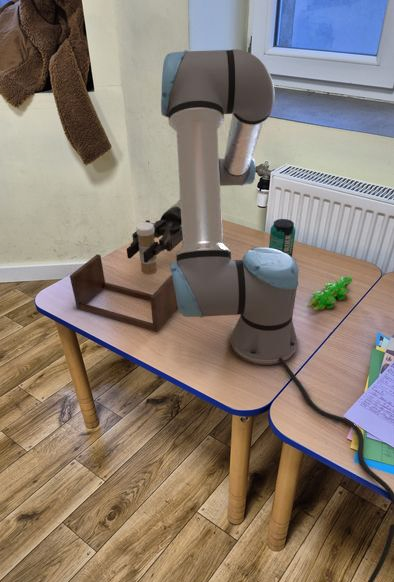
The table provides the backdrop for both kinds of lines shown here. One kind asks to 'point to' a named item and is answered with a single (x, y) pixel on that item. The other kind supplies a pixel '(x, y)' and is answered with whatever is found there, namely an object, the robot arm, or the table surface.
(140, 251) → the sprinkles bottle
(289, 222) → the green supplement bottle
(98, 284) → the bottle rack
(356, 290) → the table surface
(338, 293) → the green long bumpy piece
